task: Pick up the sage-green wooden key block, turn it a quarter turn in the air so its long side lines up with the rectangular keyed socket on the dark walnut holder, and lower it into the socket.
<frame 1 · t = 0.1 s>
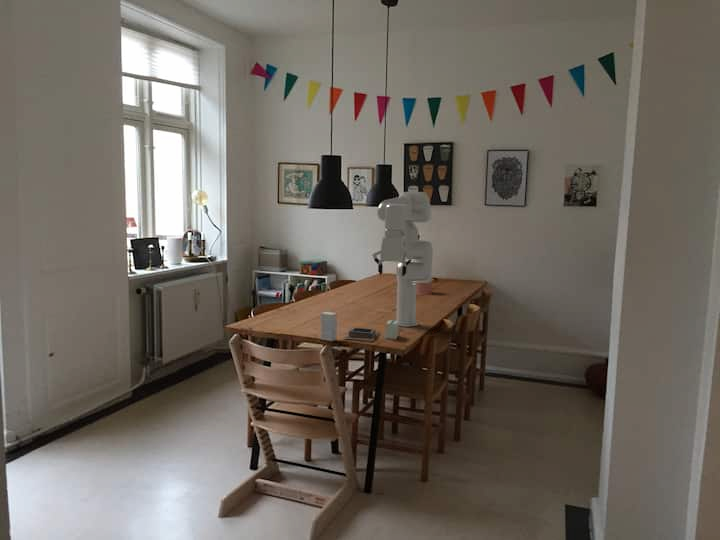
hand: (392, 274, 241), 31 cm above the table, tool pointing down, fingers open, 9 cm apart
keyed holder: (362, 336, 261), on the table
key block: (391, 337, 262), on the table
skincare box: (328, 340, 254), on the table
canned food: (422, 293, 382), on the table
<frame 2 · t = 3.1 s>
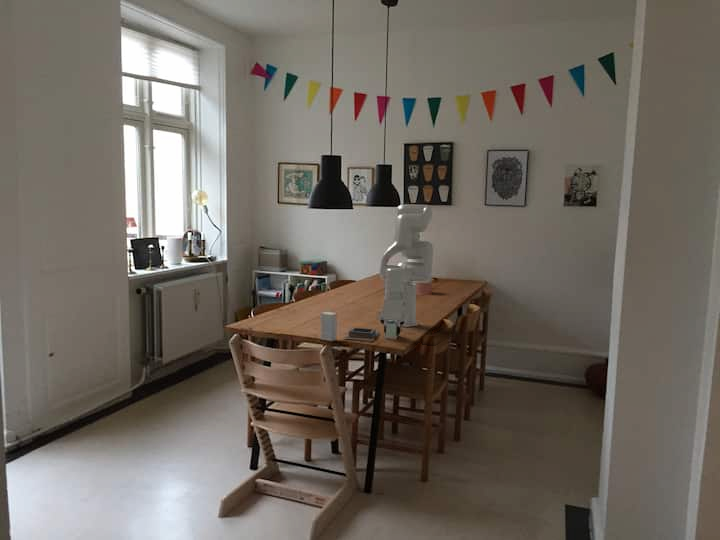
hand: (392, 334, 262), 1 cm above the table, tool pointing down, fingers closed on key block, 4 cm apart
key block: (391, 337, 262), on the table, touching gripper
everything else where it was.
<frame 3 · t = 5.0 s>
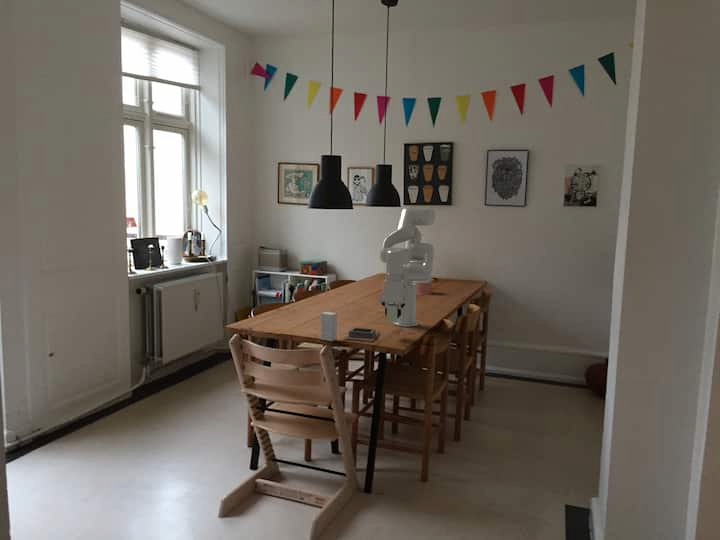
hand: (393, 316, 261), 9 cm above the table, tool pointing down, fingers closed on key block, 4 cm apart
key block: (392, 319, 262), point 8 cm above the table, touching gripper
everything else where it was.
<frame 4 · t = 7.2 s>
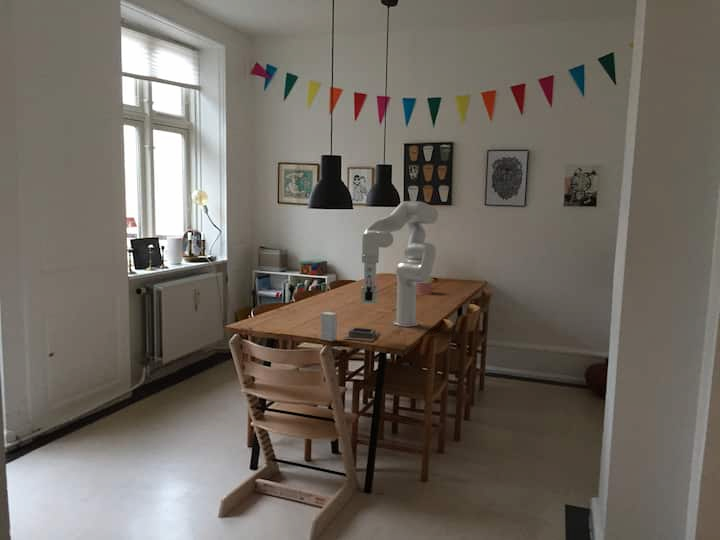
hand: (368, 299, 259), 18 cm above the table, tool pointing down, fingers closed on key block, 4 cm apart
key block: (368, 302, 259), point 16 cm above the table, touching gripper
everything else where it was.
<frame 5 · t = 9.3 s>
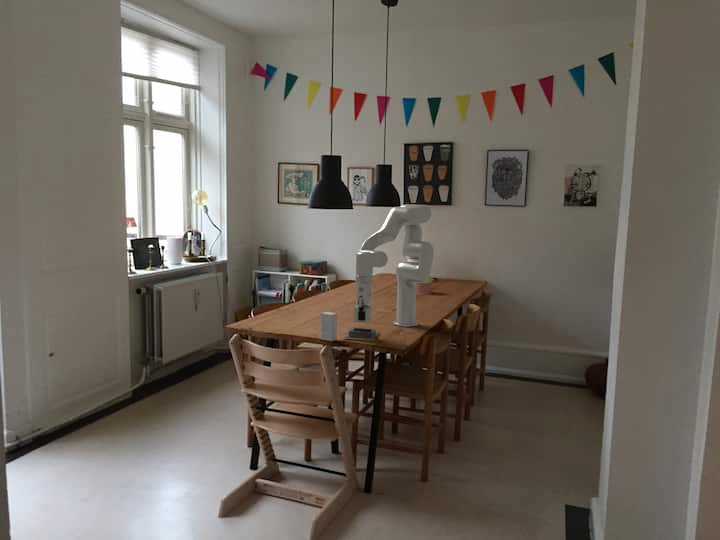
hand: (362, 318, 260), 8 cm above the table, tool pointing down, fingers closed on key block, 4 cm apart
key block: (362, 321, 260), point 7 cm above the table, touching gripper
everything else where it was.
when the fingers open (4 cm above the table, at t = 10.9 s): key block drops 2 cm, resting on keyed holder.
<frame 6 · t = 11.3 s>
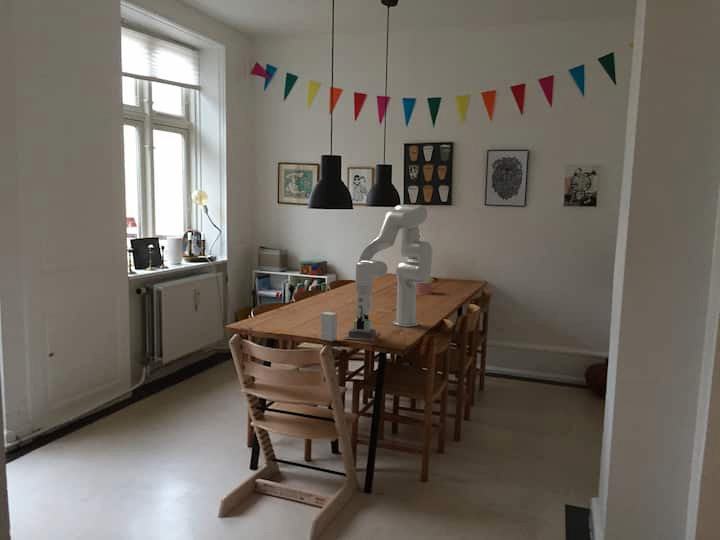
hand: (362, 326, 260), 5 cm above the table, tool pointing down, fingers open, 8 cm apart
key block: (362, 335, 261), point 1 cm above the table, touching keyed holder
everything else where it was.
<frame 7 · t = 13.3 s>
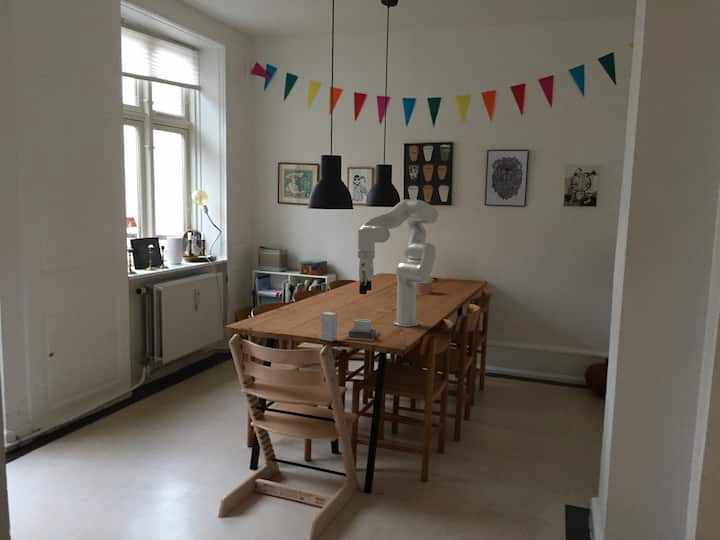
hand: (365, 292, 259), 20 cm above the table, tool pointing down, fingers open, 9 cm apart
nothing on the table moved.
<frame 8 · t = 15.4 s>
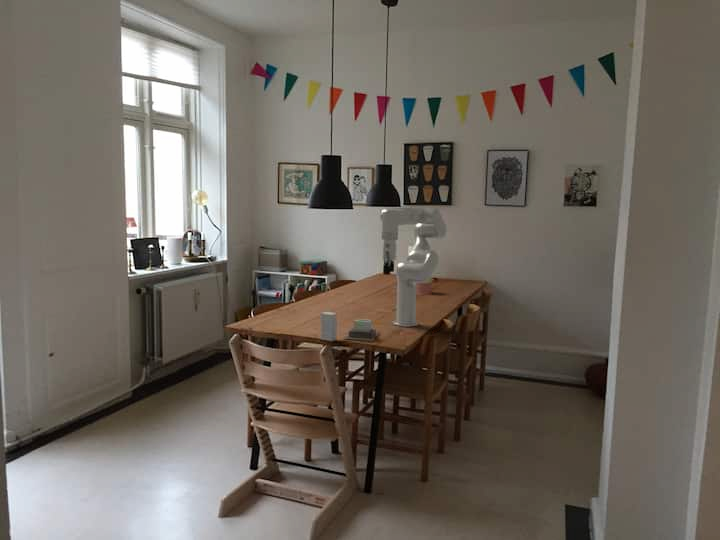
hand: (388, 273, 267), 28 cm above the table, tool pointing down, fingers open, 9 cm apart
nothing on the table moved.
at the end: key block 0.0 cm off-centre on the keyed holder, point 0.6 cm above the keyed holder's base; key block tilted 0°; the gripper is holding nothing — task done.
